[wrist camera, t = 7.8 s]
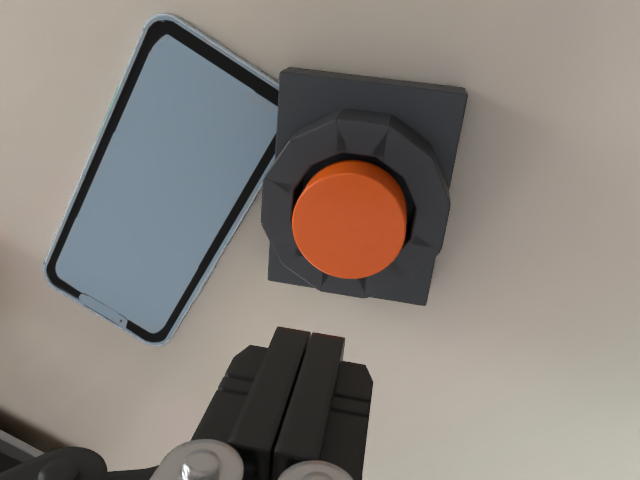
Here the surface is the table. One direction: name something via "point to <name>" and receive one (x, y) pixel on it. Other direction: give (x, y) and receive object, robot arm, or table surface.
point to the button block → (371, 146)
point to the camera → (14, 451)
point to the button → (350, 219)
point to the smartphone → (165, 180)
